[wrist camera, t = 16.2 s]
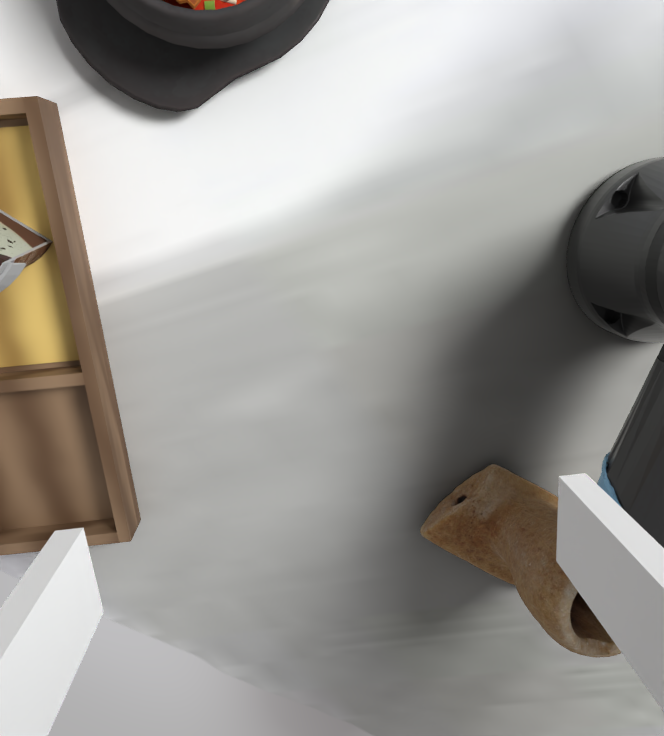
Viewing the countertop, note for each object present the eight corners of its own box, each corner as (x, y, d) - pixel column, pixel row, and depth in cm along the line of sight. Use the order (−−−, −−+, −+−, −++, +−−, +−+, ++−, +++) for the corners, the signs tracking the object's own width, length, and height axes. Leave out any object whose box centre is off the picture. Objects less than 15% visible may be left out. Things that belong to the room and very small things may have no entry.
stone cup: (608, 502, 57) (715, 607, 42) (531, 591, 59) (608, 718, 45) (488, 425, 54) (560, 510, 39) (412, 522, 56) (454, 636, 42)
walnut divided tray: (56, 103, 43) (37, 96, 40) (140, 519, 54) (130, 541, 51) (-122, 117, 43) (-157, 110, 40) (-2, 534, 53) (-22, 557, 50)
